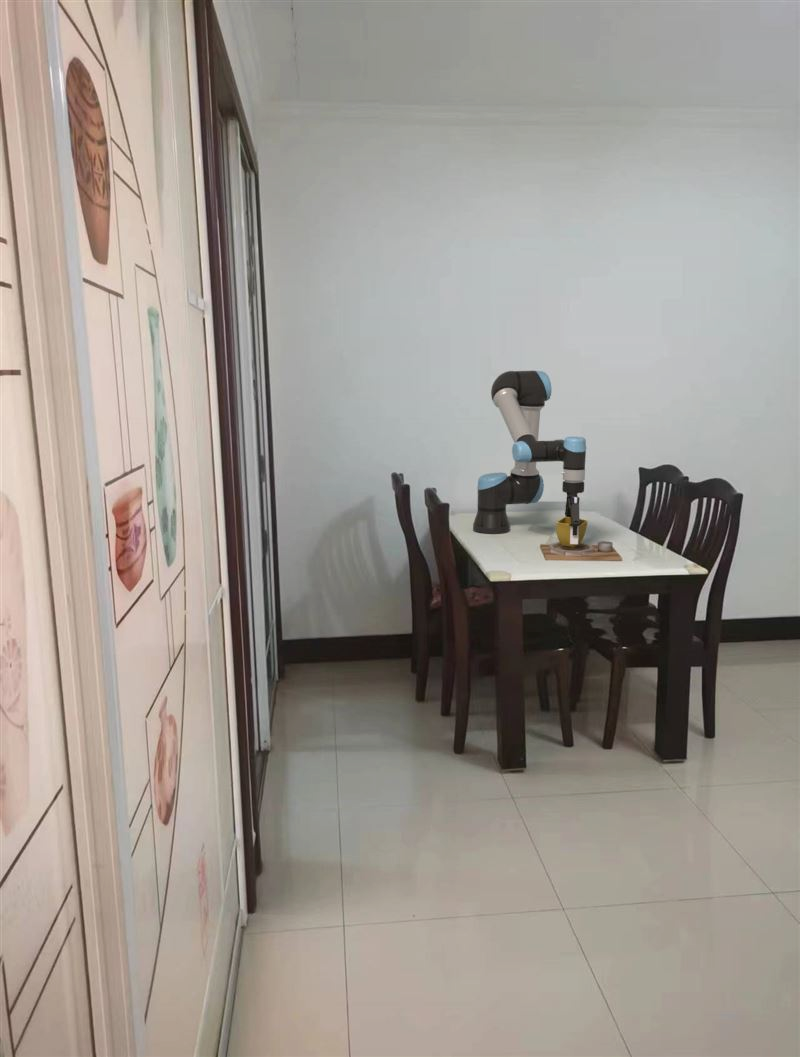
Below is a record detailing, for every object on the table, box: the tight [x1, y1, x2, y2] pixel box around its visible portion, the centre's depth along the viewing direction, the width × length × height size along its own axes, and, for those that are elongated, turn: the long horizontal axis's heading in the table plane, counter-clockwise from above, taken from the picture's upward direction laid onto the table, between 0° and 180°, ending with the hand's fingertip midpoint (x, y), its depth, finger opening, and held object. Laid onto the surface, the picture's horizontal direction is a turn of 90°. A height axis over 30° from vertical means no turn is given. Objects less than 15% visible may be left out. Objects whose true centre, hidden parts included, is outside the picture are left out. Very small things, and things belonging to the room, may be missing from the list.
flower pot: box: [556, 516, 589, 547], centre depth 285 cm, size 9×9×9 cm
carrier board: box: [539, 540, 623, 562], centre depth 285 cm, size 20×26×4 cm
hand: (571, 539), depth 285 cm, fingers open, 13 cm apart
